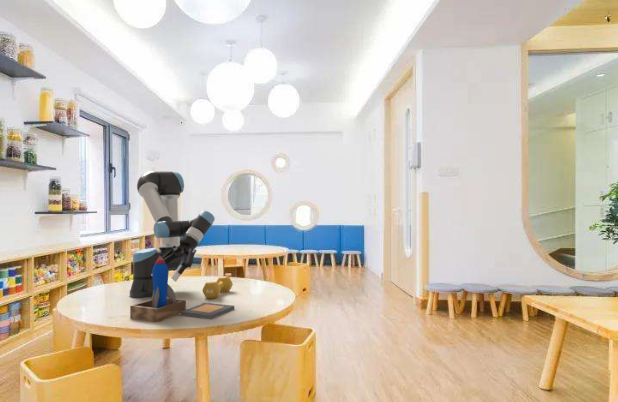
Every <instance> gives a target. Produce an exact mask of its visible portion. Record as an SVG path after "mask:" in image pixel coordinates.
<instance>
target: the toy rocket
mask: <svg viewBox="0 0 618 402" xmlns="http://www.w3.org/2000/svg"><path fill="white" fill-rule="evenodd" d="M169 272H170V271H168V267H167V265H166V263H165V261H164V260H163V258H162V257H161V256H159V258H158V259H157V261H156V262H155V265H154V267H153V270H152V277H153V286H154V290H153V295H152V296H151V300H152V308H160V307H163V306H166V304H167V298H169V299H170V301H171V303H172V304H173V303H176V299H177V297H176V294H175V291H174V289H173V288H172V286H170V285H169V284H168V283H169Z"/></svg>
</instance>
